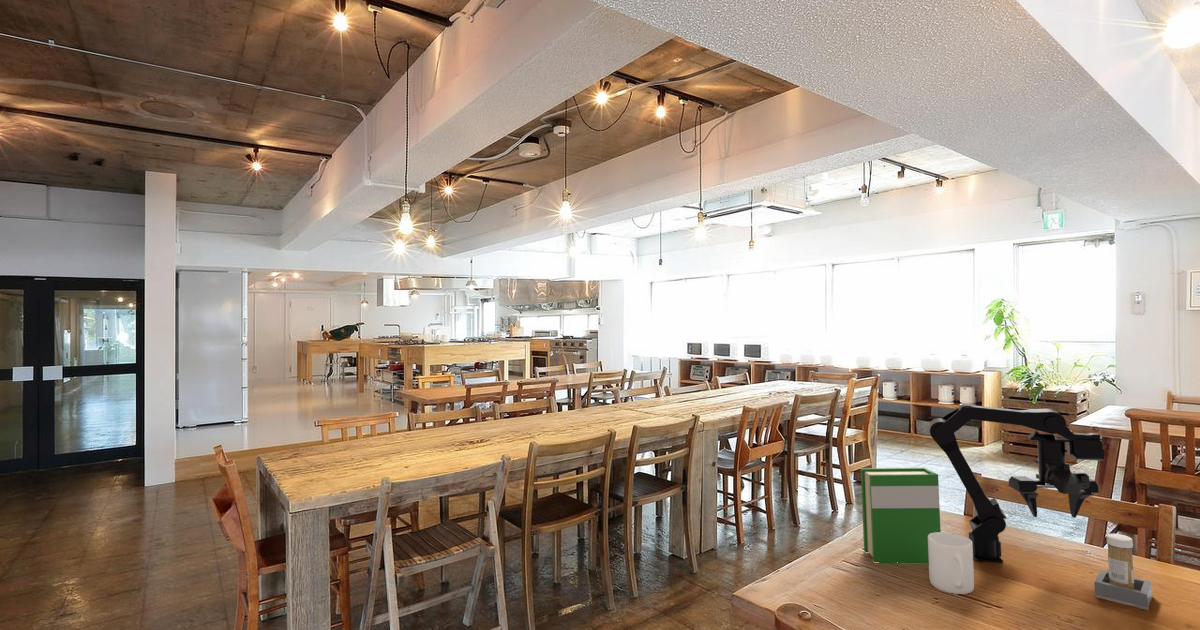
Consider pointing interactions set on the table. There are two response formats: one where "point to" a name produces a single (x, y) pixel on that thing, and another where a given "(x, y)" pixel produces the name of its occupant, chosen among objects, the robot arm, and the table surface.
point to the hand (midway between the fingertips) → (1054, 517)
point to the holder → (1124, 591)
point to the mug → (951, 562)
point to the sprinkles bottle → (1120, 560)
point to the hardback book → (899, 513)
